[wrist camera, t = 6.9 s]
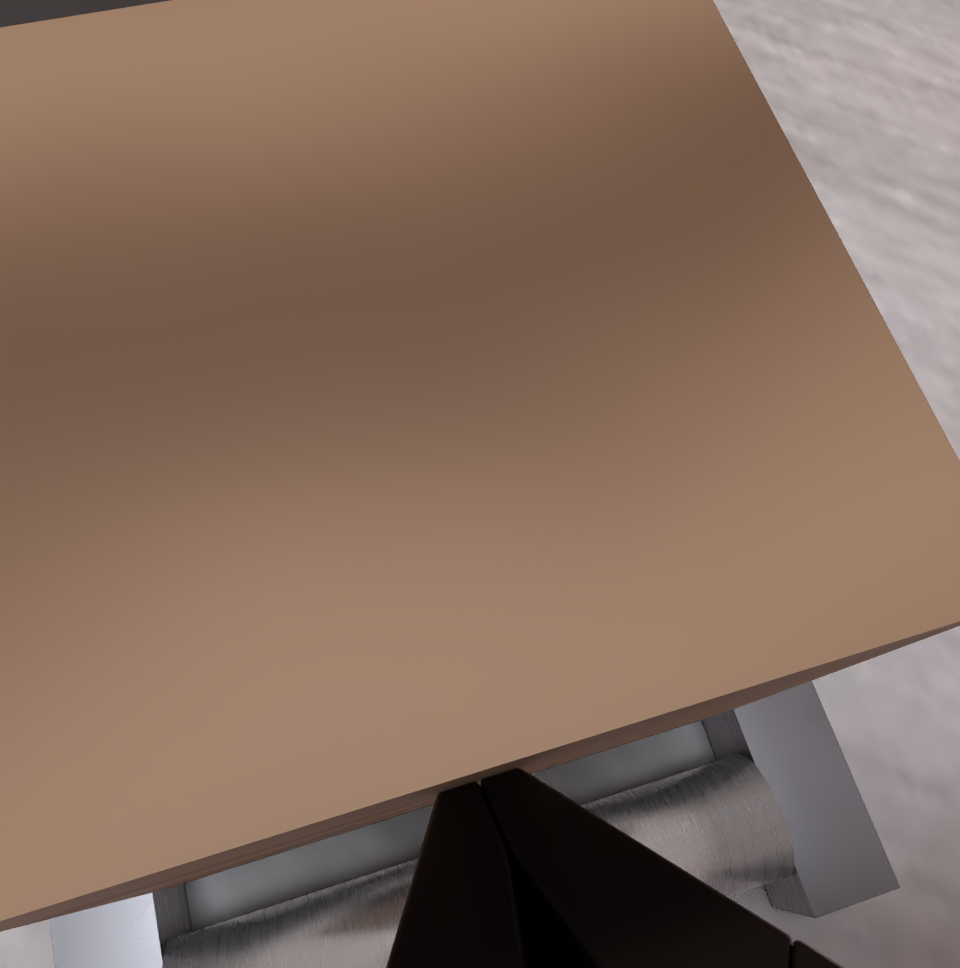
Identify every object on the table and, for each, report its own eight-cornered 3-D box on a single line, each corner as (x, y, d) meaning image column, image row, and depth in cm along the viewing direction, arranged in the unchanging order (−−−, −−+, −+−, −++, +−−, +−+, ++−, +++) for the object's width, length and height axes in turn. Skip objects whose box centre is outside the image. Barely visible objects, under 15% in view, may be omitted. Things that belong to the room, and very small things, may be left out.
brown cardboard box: (728, 711, 14) (1033, 598, 7) (162, 889, 12) (-182, 978, 5) (569, 301, 16) (669, -79, 10) (89, 411, 15) (-203, 59, 8)
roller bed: (848, 879, 15) (1089, 914, 10) (122, 1139, 13) (-99, 1368, 8) (535, 114, 21) (571, -135, 16) (7, 216, 19) (-163, -27, 14)
